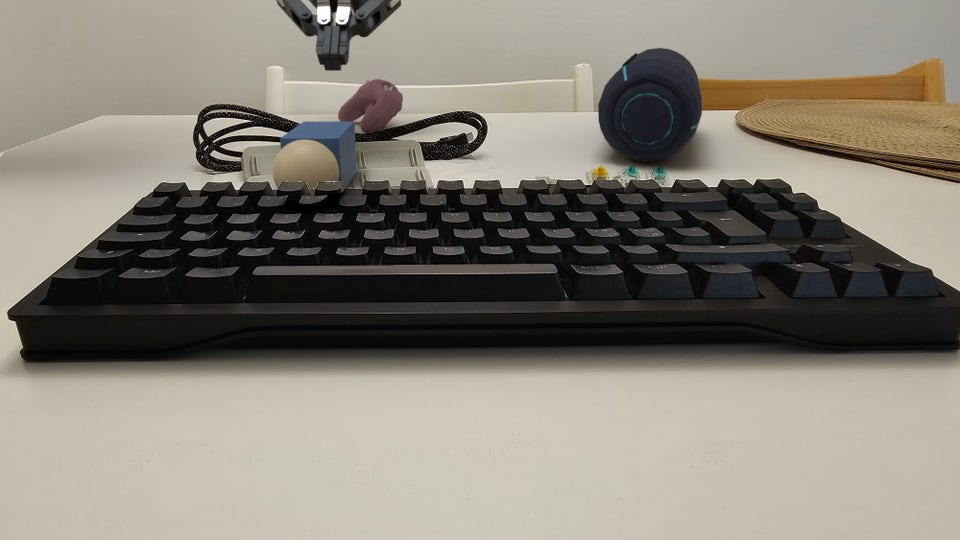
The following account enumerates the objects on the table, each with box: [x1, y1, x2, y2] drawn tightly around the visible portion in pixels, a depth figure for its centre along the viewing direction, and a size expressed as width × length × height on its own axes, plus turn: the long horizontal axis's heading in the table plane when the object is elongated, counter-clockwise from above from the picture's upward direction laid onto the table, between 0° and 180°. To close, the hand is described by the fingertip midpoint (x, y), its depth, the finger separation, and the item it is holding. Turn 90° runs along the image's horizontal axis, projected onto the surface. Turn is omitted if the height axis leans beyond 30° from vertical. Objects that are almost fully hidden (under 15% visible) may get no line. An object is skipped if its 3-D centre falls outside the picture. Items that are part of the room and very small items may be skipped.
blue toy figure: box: [272, 121, 358, 189], centre depth 57 cm, size 5×5×14 cm
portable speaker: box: [597, 47, 703, 163], centre depth 75 cm, size 25×10×10 cm, turn 164°
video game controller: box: [337, 78, 404, 134], centre depth 86 cm, size 10×5×7 cm, turn 29°
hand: (331, 64), depth 64 cm, fingers closed
